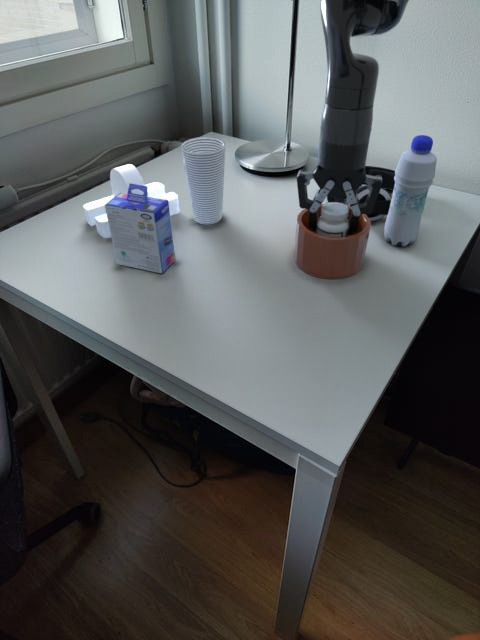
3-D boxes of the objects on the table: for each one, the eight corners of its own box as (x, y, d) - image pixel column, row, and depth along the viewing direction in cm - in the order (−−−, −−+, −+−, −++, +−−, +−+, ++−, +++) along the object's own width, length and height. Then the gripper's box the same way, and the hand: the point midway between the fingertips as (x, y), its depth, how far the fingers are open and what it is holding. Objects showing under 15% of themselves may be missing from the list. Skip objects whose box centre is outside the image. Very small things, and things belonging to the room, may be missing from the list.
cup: (204, 232, 93) (198, 157, 83) (180, 217, 98) (171, 144, 88) (236, 218, 98) (234, 145, 87) (211, 204, 102) (206, 133, 92)
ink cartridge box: (177, 258, 87) (168, 185, 77) (163, 275, 83) (152, 200, 73) (131, 249, 89) (116, 178, 80) (116, 264, 85) (99, 191, 76)
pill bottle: (325, 245, 88) (331, 197, 82) (350, 256, 85) (359, 207, 79) (306, 257, 85) (311, 208, 79) (331, 269, 82) (338, 219, 76)
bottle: (388, 227, 94) (411, 126, 80) (421, 237, 91) (450, 134, 77) (375, 242, 90) (396, 138, 76) (409, 253, 87) (437, 146, 73)
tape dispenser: (85, 220, 98) (72, 171, 91) (159, 196, 106) (153, 149, 99) (104, 239, 92) (92, 188, 85) (181, 212, 100) (176, 163, 93)
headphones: (315, 165, 97) (379, 153, 107) (308, 200, 102) (370, 186, 112) (378, 197, 86) (443, 181, 96) (367, 234, 91) (430, 215, 101)
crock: (363, 244, 89) (370, 206, 84) (362, 282, 80) (370, 243, 75) (298, 238, 91) (301, 200, 86) (290, 274, 82) (293, 235, 77)
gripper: (295, 140, 69) (289, 238, 80) (394, 146, 67) (374, 246, 78) (300, 123, 74) (294, 217, 86) (392, 128, 72) (373, 224, 83)
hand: (332, 230), depth 82 cm, fingers closed on pill bottle, 5 cm apart
